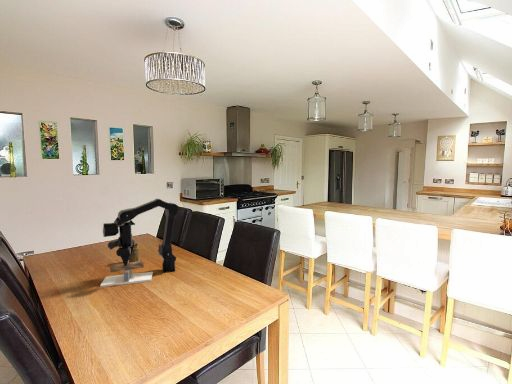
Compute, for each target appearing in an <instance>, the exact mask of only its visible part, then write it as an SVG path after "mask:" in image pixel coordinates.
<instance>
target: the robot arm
mask: <svg viewBox="0 0 512 384" xmlns="http://www.w3.org/2000/svg"><path fill="white" fill-rule="evenodd" d="M159 207H160V208H161V209H164V214H165V223H164V224H165V225H164V230H163V231H164V233H163V238H162V239H163V240H162V243H161V244H158V250H157V252H158V255H159V257H161V258H162V259H163V261H162V262H161V263H162V266H161V267H162V271H163V273H171V272H176V261H177V257H176V256H175V255H174V253H173V247H172V238H173V237H172V236H173V231H174V224H175V219H176V217H177V215H178V212H179V206H178V204H176V203H174V202H167V201H164V200H162V199H160V198H155V199H154V200H153V199H152V200H150V201H148V202H146V203H143V204H140V205H138V206H136V207H132V208H125V209H122V210H121V209H120V210H119V212H118V213H117V217H116V218H115V220H114V221H113V222H108V223H107V222H103V225H102V234H103V235H102V236H103V237H104V238H106V237H113V236H117V235H118V234H119V237H117V239H114V240H112V241H109V242H108V243H107V248H108V249H109V250H110V251H111V250H113V249H114V248H116V247H117V248H118V249H117V250H116V251H115V253H116V255H117V256H118V257H120V258H121V260H122V263H124V266H126V265H127V263H128V261H129V260H130V257H131V254H132V252H133V249H134V246H135V243H136V241H135V240H134V239H132V238H133V234H132V226H135V225H136V223H135V222H134V221H133V220H134V219H135V218H136V217H137V216H139V215H141V214H143V213H146V212H149V211H151V210H153V209H156V208H159ZM132 244H133V245H132Z"/></svg>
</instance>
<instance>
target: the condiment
mask: <svg viewBox="0 0 512 384" xmlns="http://www.w3.org/2000/svg"><path fill="white" fill-rule="evenodd" d="M132 245H133V244H132ZM138 245H139V244H138V242H135V246H134V249H133V252H132V254H131V257H130V260H128V262H137V261H140V254H139V251H140V250H139V249H140V248H139V246H138Z"/></svg>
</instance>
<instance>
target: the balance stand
mask: <svg viewBox="0 0 512 384" xmlns="http://www.w3.org/2000/svg"><path fill="white" fill-rule="evenodd" d="M153 273H154V272H153V271H148V272H138V273H132V269H131V270H124V272H123V274H119V275H107V276H105V277H104V279H103V281H102V282H101V284H100V286H99V287H100V288H104V287H105V288H106V287H111V286H112V287H113V286H123V285H128V284H129V285H130V284H137V283H146V282H147V283H149V282H152V279H153Z"/></svg>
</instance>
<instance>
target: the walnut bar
mask: <svg viewBox="0 0 512 384" xmlns="http://www.w3.org/2000/svg"><path fill="white" fill-rule="evenodd" d="M109 267H110V268H109V269H110V273H114V272H123V271H125V270H131V271H132V270H138V269H144V267H145V265H144V260H139V261H137V262H129V263H127V265H126V266H124V263H123V262H122V263H113V264H110V266H109Z"/></svg>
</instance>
